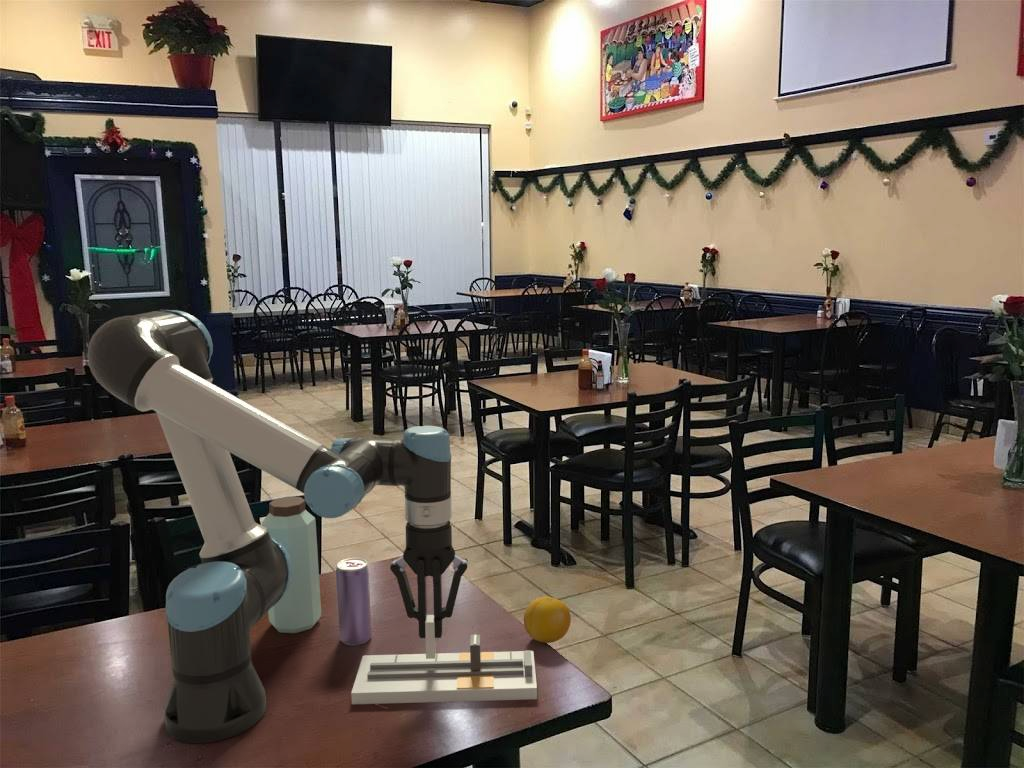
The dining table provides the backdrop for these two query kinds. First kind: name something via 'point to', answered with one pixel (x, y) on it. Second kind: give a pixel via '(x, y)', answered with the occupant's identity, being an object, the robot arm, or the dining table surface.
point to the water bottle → (296, 565)
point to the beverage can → (353, 601)
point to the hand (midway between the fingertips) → (431, 654)
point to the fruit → (547, 619)
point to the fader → (475, 652)
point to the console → (445, 678)
